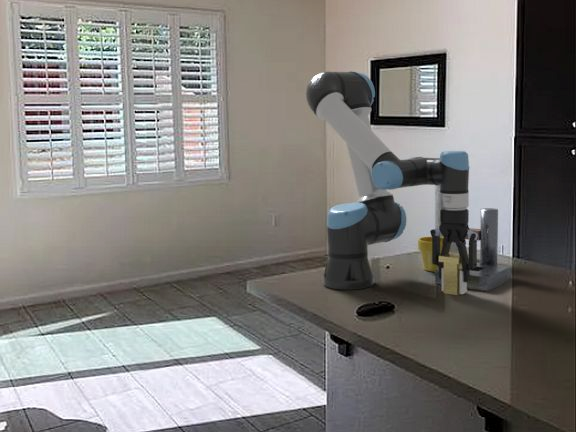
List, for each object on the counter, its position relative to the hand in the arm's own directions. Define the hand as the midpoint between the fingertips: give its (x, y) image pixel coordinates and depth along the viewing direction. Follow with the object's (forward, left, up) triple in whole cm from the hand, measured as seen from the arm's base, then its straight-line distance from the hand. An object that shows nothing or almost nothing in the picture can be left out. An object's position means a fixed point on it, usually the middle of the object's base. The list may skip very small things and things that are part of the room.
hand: (454, 291), depth 186 cm
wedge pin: (0, 0, 0) cm, 0 cm away
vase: (-22, +40, -1) cm, 46 cm away
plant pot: (-18, +22, -1) cm, 28 cm away
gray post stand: (-1, +16, 0) cm, 17 cm away
